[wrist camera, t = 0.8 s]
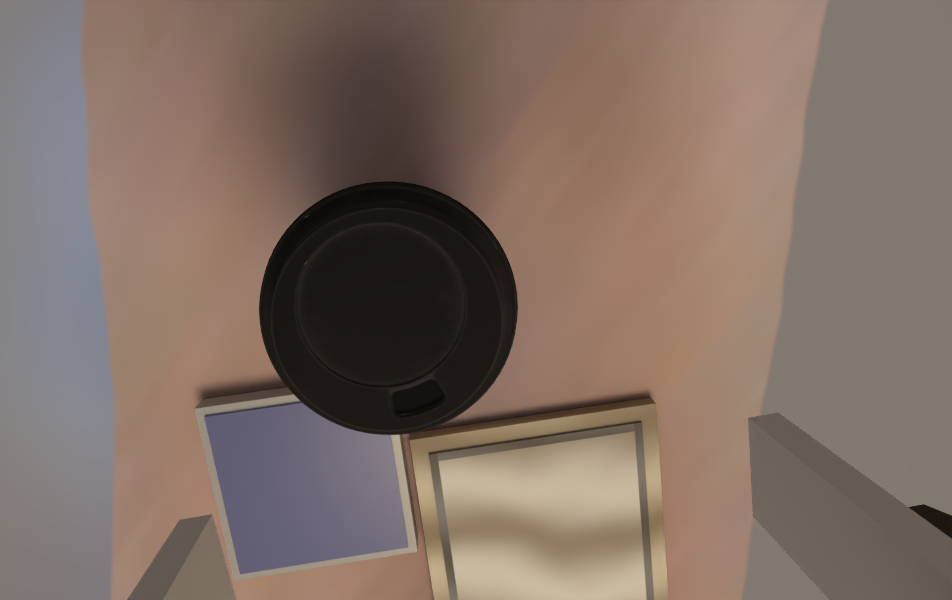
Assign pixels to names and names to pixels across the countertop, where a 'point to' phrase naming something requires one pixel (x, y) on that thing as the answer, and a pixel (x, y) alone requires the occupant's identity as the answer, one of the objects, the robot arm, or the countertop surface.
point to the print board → (545, 506)
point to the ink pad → (302, 486)
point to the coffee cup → (388, 308)
